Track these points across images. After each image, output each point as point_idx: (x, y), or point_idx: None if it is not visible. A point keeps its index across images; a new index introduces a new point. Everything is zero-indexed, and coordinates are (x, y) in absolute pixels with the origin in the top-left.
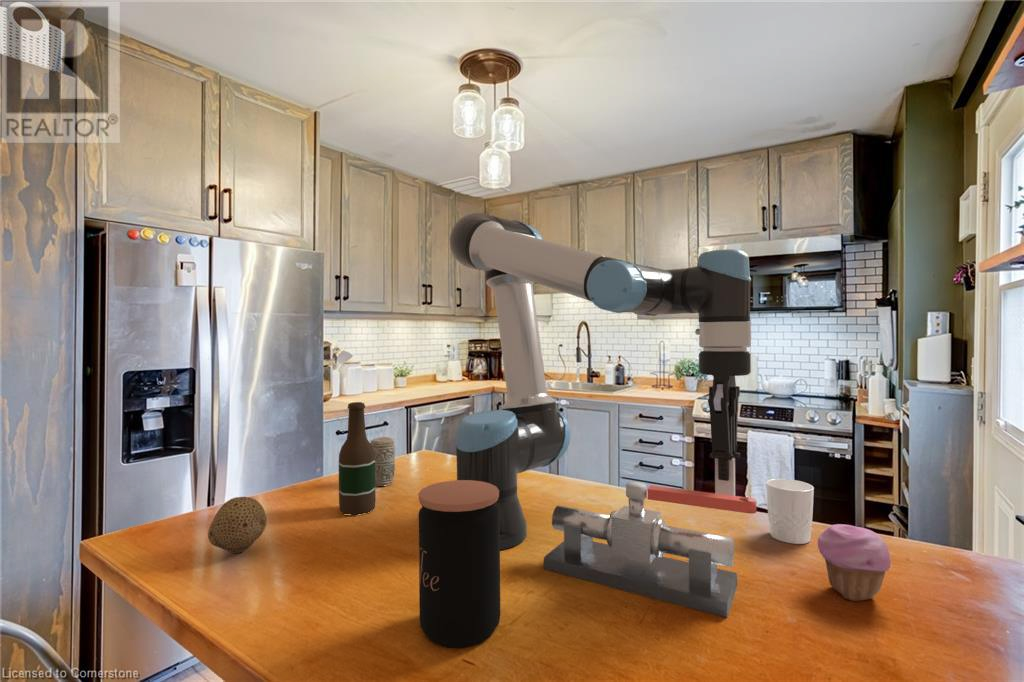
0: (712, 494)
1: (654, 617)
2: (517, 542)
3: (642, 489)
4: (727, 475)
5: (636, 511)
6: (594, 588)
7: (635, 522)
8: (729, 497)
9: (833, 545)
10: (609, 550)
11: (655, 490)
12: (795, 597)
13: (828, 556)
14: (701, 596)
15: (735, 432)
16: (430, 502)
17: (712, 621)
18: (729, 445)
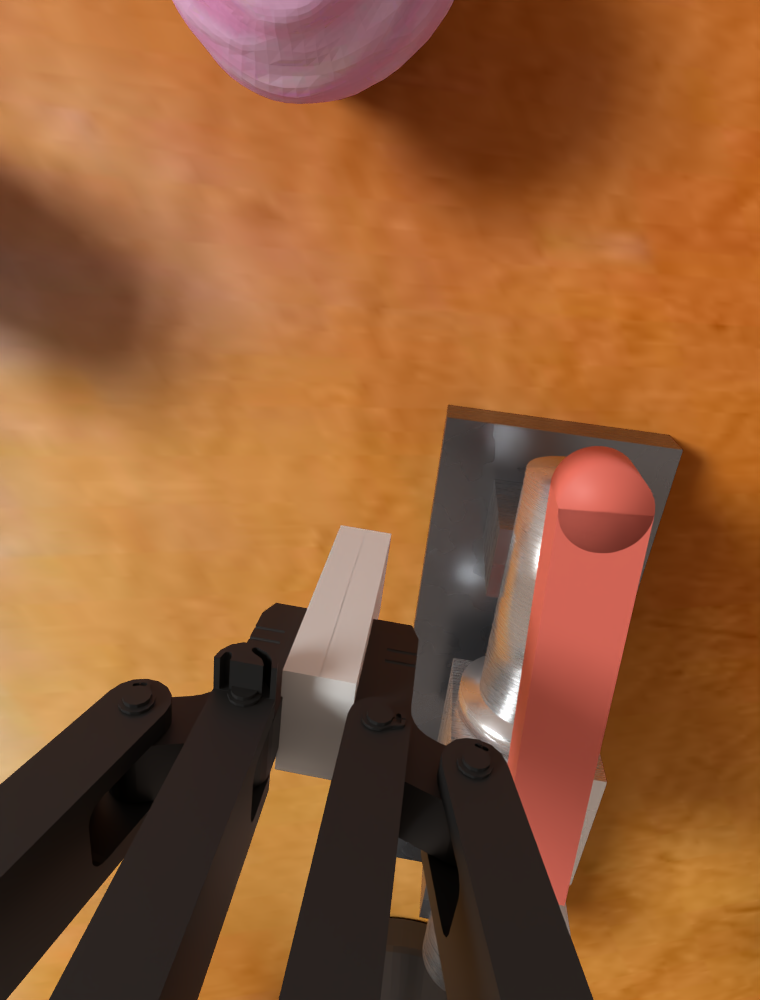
0: (558, 672)
1: (717, 608)
2: None
3: None
4: (416, 651)
5: None
6: (602, 746)
7: (593, 819)
8: (591, 599)
9: (402, 24)
10: None
11: (570, 879)
12: (458, 221)
13: (402, 64)
14: (658, 519)
15: (67, 810)
16: None
17: (700, 472)
18: (494, 837)
